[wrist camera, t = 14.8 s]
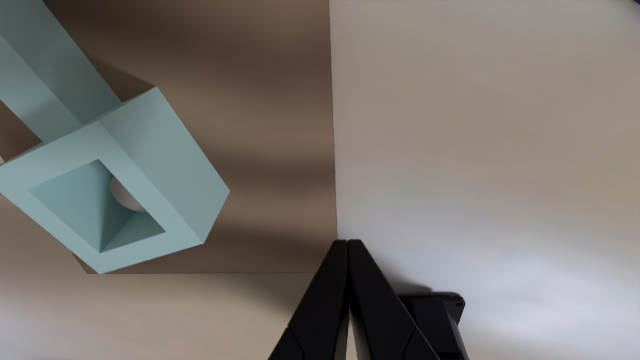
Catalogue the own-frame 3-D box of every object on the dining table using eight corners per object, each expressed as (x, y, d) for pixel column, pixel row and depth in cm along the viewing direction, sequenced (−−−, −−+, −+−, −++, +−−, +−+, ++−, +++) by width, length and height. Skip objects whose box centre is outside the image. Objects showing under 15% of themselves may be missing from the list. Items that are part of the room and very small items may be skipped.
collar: (230, 190, 19) (203, 243, 15) (143, 220, 20) (99, 274, 17) (70, -38, 12) (-45, -46, 9) (-37, 33, 14) (-171, 51, 10)
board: (338, 264, 23) (338, 311, 20) (94, 265, 24) (56, 310, 21) (326, -69, 12) (323, -88, 9) (-117, -33, 13) (-266, -39, 10)
